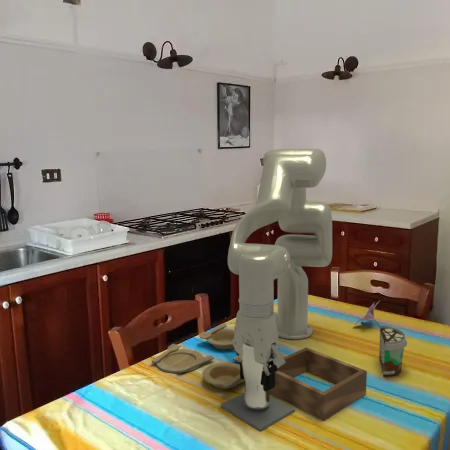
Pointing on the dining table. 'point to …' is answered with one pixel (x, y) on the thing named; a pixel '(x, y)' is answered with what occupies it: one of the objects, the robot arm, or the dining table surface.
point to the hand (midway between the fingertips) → (257, 382)
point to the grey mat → (258, 412)
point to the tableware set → (204, 360)
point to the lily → (369, 314)
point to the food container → (391, 350)
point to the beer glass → (253, 380)
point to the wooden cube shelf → (312, 397)
